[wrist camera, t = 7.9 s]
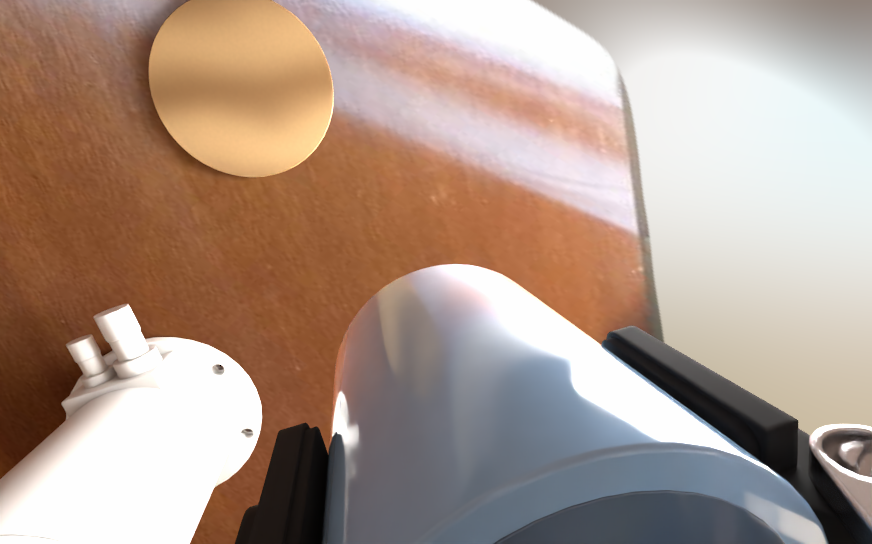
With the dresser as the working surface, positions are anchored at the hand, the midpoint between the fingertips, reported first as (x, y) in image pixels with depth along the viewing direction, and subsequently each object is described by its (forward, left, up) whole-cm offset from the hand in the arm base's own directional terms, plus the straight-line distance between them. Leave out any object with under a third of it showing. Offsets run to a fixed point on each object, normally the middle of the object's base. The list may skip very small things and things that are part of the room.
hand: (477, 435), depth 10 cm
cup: (0, 0, -3) cm, 3 cm away
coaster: (-12, -6, -24) cm, 27 cm away
